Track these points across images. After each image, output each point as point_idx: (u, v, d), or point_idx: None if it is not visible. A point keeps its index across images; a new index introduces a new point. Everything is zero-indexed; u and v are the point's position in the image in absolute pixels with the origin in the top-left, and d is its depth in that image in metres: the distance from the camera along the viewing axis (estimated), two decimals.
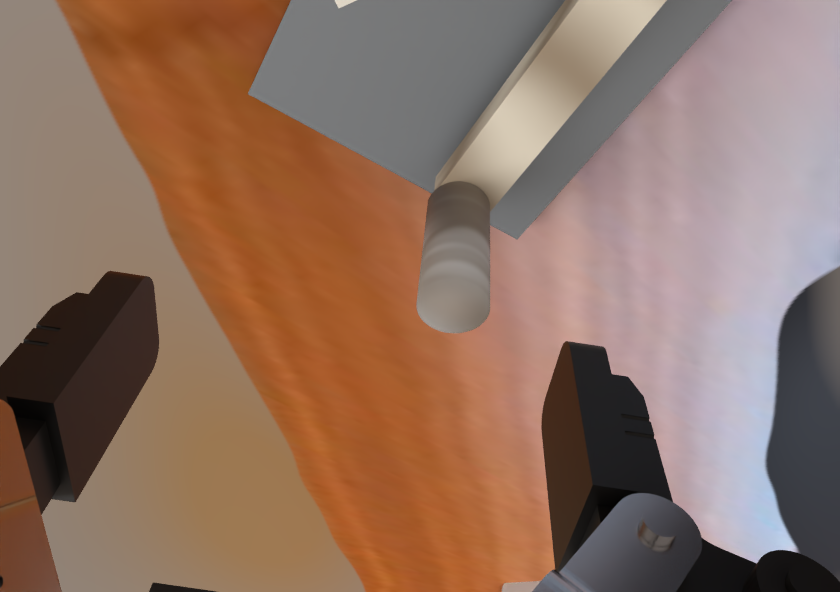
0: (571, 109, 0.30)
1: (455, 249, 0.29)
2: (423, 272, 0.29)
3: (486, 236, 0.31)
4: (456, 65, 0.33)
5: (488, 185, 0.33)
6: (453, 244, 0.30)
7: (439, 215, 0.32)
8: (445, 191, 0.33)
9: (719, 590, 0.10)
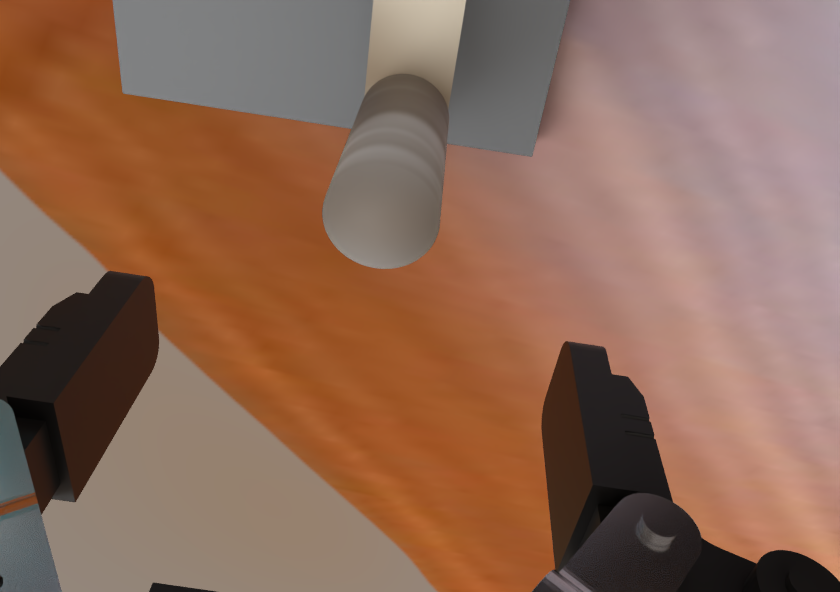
0: None
1: (364, 138, 0.19)
2: None
3: (426, 119, 0.20)
4: None
5: (426, 66, 0.23)
6: (363, 134, 0.19)
7: (356, 119, 0.21)
8: (367, 95, 0.23)
9: (719, 590, 0.10)
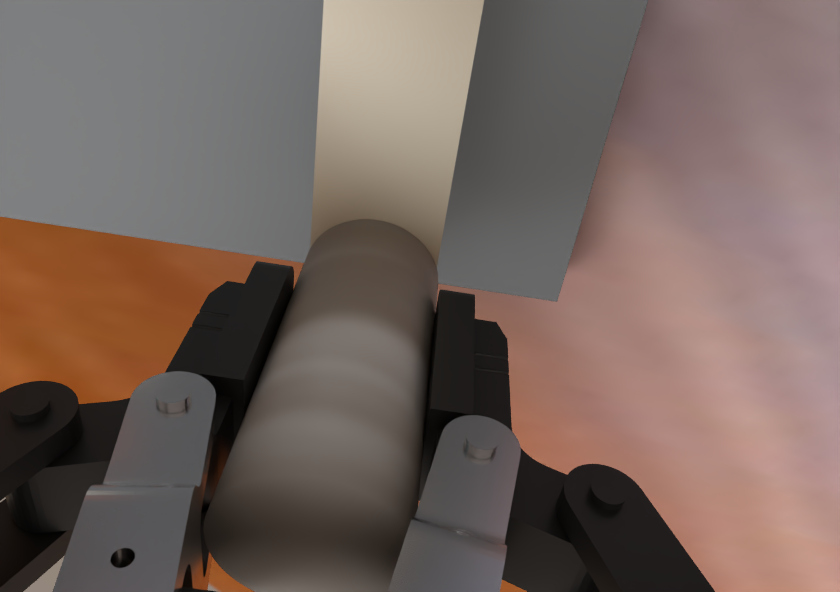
0: None
1: (286, 382, 0.11)
2: None
3: (397, 320, 0.13)
4: (265, 4, 0.16)
5: (402, 209, 0.15)
6: (286, 370, 0.11)
7: (288, 308, 0.13)
8: (311, 254, 0.15)
9: (536, 500, 0.10)
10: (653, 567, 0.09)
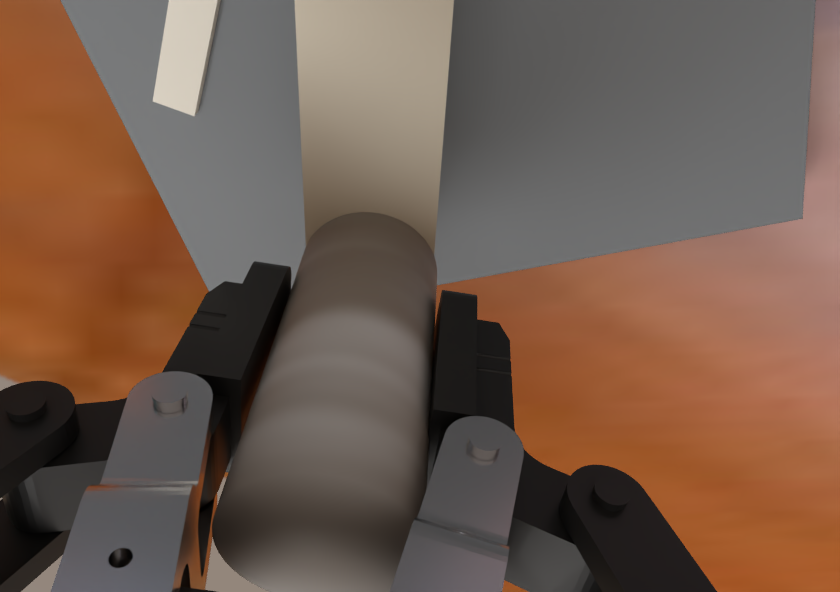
0: None
1: (285, 381, 0.11)
2: None
3: (394, 311, 0.12)
4: None
5: (393, 199, 0.15)
6: (284, 369, 0.11)
7: (286, 307, 0.13)
8: (307, 252, 0.15)
9: (539, 501, 0.10)
10: (656, 568, 0.09)
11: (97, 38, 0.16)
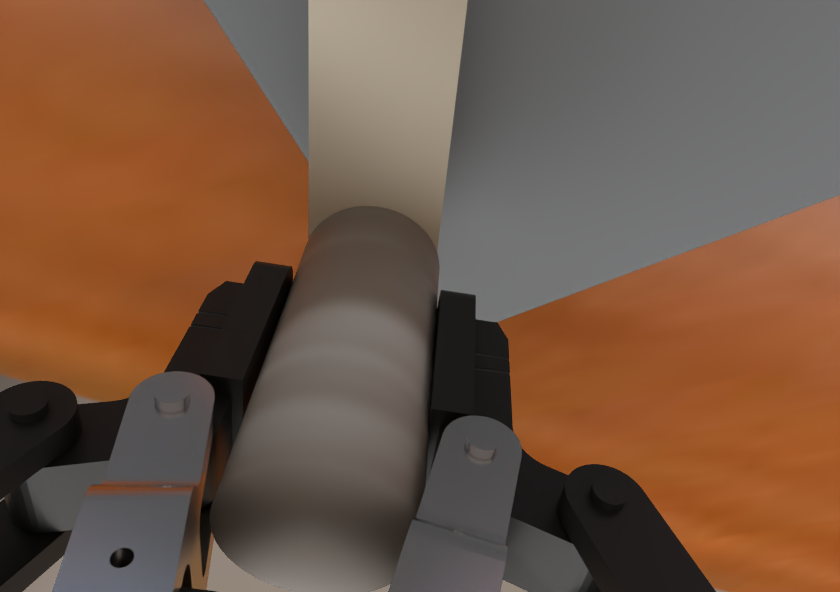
0: None
1: (287, 371, 0.11)
2: None
3: (397, 305, 0.12)
4: (604, 15, 0.15)
5: (399, 194, 0.15)
6: (286, 359, 0.11)
7: (288, 298, 0.13)
8: (310, 244, 0.15)
9: (537, 500, 0.10)
10: (654, 567, 0.09)
11: (283, 95, 0.17)
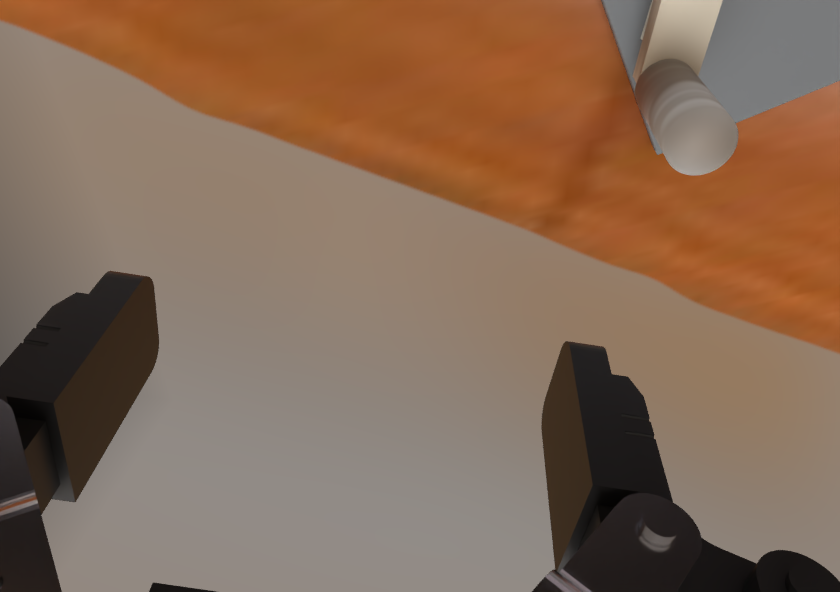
0: None
1: (681, 95, 0.31)
2: (659, 128, 0.31)
3: (704, 85, 0.32)
4: None
5: (686, 53, 0.35)
6: (677, 94, 0.31)
7: (652, 88, 0.33)
8: (648, 73, 0.35)
9: (719, 590, 0.10)
10: None
11: (617, 16, 0.37)
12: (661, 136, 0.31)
